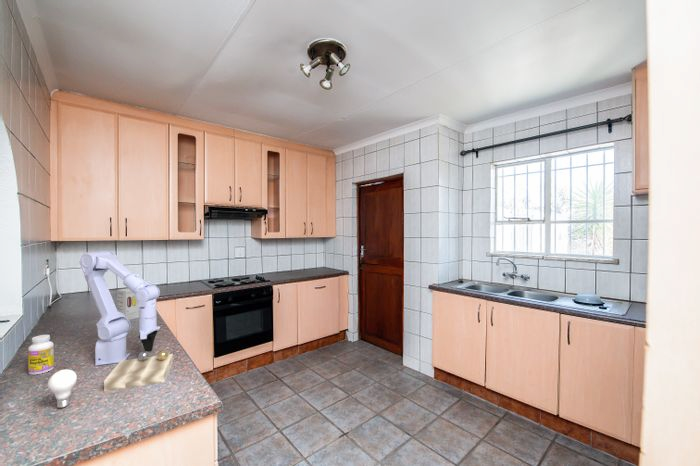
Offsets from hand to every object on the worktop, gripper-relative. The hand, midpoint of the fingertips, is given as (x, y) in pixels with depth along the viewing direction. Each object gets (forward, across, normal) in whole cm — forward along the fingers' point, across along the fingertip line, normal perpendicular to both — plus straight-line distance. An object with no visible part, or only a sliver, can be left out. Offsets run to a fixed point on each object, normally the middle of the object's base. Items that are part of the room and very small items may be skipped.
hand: (148, 351), depth 121 cm
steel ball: (-1, -7, 0) cm, 7 cm away
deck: (+4, -12, 0) cm, 13 cm away
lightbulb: (+4, -26, +16) cm, 31 cm away
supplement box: (+4, +71, +25) cm, 76 cm away
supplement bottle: (+4, +5, +35) cm, 36 cm away
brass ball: (-1, -9, -6) cm, 11 cm away
